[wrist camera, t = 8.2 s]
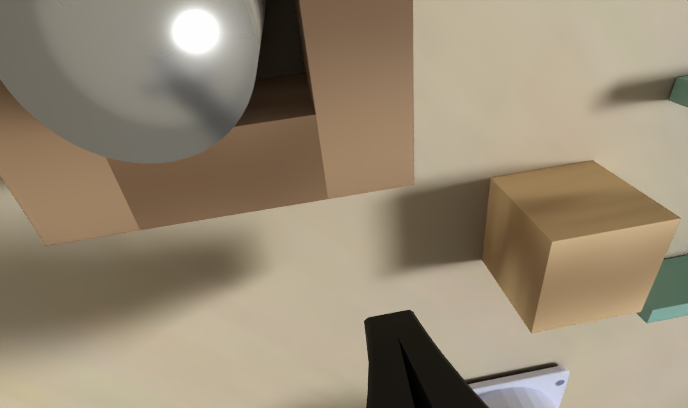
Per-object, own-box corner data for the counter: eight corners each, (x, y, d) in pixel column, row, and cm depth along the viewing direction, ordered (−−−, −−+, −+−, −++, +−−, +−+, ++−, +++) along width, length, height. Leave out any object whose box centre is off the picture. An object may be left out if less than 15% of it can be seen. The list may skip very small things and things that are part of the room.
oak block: (570, 242, 17) (640, 311, 14) (481, 258, 17) (531, 333, 14) (591, 159, 15) (681, 218, 12) (489, 176, 15) (552, 241, 12)
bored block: (382, 131, 13) (414, 184, 10) (100, 174, 13) (45, 245, 10) (360, -276, 8) (409, -407, 5) (-103, -238, 8) (-348, -360, 5)
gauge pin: (272, 57, 11) (271, 153, 6) (156, 64, 11) (44, 173, 6) (255, -80, 10) (233, -119, 4) (118, -77, 9) (-96, -113, 4)
